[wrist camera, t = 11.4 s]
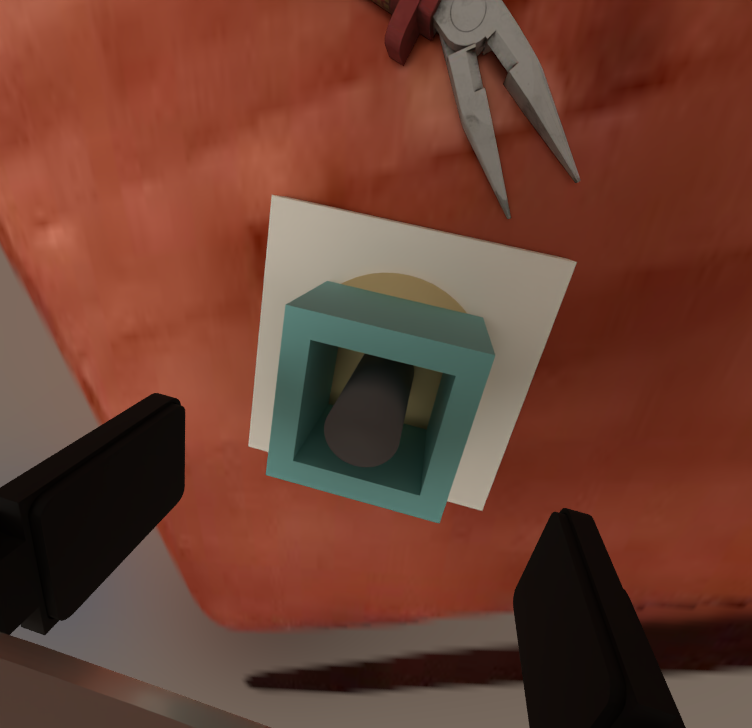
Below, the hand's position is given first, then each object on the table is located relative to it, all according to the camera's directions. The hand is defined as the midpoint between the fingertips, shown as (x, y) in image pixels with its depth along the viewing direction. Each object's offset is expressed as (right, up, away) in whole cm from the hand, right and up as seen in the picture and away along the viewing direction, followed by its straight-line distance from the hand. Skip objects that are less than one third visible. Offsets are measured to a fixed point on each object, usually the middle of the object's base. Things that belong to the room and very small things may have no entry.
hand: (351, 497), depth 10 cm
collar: (+1, +3, +9) cm, 10 cm away
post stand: (+1, +4, +11) cm, 11 cm away
